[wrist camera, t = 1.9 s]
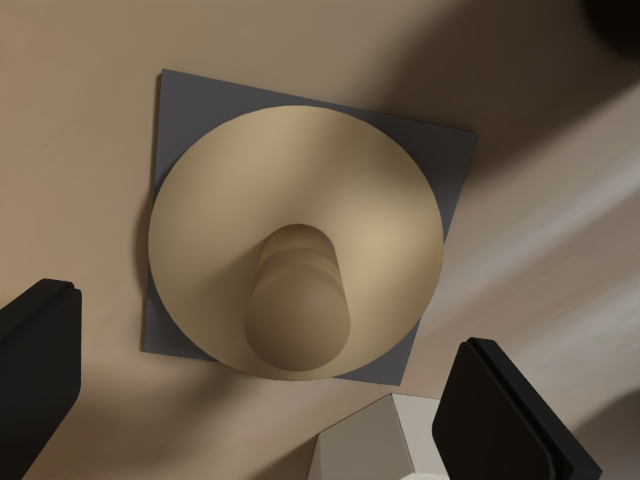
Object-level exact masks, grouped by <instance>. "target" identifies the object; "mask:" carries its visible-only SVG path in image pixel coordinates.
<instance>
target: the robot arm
mask: <svg viewBox="0 0 640 480" xmlns="http://www.w3.org/2000/svg"><path fill="white" fill-rule="evenodd" d="M81 321H82V294H81V291H80V290H79V289H75V287H74V284H73V283H72V282H68V281H60V280H53V279H45V278H44V279H42V280H40V281H38V282H37V283H36V284H34V285H33V286H32V287H30V288H29V289H28V290H26V291H25V292H24V293H22V294H21V295H20V296H18V297H17V298H16V299H14V300H13V301H12V302H10V303H9V304H8V305H6V306H5V307H4V308H2V309H1V310H0V480H21V479H22V478H23V476H24V475H25V474H26V472H27V471H28V469H29V468H30V466H31V465H32V464H33V462H34V461H35V459H36V458H37V456H38V455H39V453H40V452H41V451H42V449H43V448H44V446H45V445H46V443H47V442H48V441H49V439H50V438H51V436H52V435H53V433H54V432H55V430H56V429H57V428H58V426H59V425H60V423H61V422H62V420H63V419H64V418H65V416H66V415H67V413H68V412H69V410H70V409H71V407H72V406H73V405H74V403H75V401H76V400H77V398H78V395H79V392H80V388H81ZM432 437H433V440H434V443H435V445H436V447H437V450H438V452H439V455H440V457H441V459H442V462H443V464H444V467H445V469H446V471H447V474H448V476H449V479H450V480H598V479H599V478H600V476H601V474H602V472H603V471H602V470H601V468H600V467H599V466H598V465H597V464H596V462H595V461H594V460H593V459H592V458H591V456H590V455H589V454H588V453H587V452H586V450H585V449H584V448H583V447H582V446H581V444H580V443H579V442H578V441H577V440H576V438H575V437H574V436H573V435H572V434H571V432H570V431H569V430H568V429H567V428H566V426H565V425H564V424H563V423H562V421H561V420H560V419H559V418H558V417H557V415H556V414H555V413H554V412H553V411H552V409H551V408H550V407H549V406H548V405H547V403H546V402H545V401H544V400H543V399H542V397H541V396H540V395H539V394H538V393H537V391H536V390H535V389H534V388H533V387H532V385H531V384H530V383H529V382H528V381H527V379H526V378H525V377H524V376H523V374H522V373H521V372H520V371H519V370H518V368H517V367H516V366H515V365H514V364H513V362H512V361H511V360H510V359H509V358H508V356H507V355H506V354H505V353H504V352H503V350H502V349H501V348H500V347H499V346H498V344H497V343H496V342H495V341H494V340H489V339H481V338H474V337H471V338H469V339H468V340H467V341H466V342H462V343H461V344H460V346H459V349H458V352H457V355H456V357H455V360H454V363H453V366H452V369H451V372H450V374H449V377H448V380H447V383H446V386H445V389H444V391H443V394H442V397H441V400H440V403H439V406H438V408H437V411H436V414H435V417H434V420H433V423H432Z"/></svg>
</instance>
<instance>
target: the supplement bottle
mask: <svg viewBox="0 0 640 480" xmlns="http://www.w3.org/2000/svg"><path fill="white" fill-rule="evenodd" d="M583 5H584V8H585V12H586V15H587V18H588V20H589V22H590V24H591V26H592V28H593V30H594V31H595V33H596V34H597V36H598V37H599V38H600V39H601V40H602V41H603V43H604V44H605V45H607V46H608V47H609V48H610V49H611V50H613V51H614V52H616V53H617V54H619V55H621V56H623V57H626V58H628V59H631V60H634V61H639V62H640V0H583Z"/></svg>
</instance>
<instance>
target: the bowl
mask: <svg viewBox="0 0 640 480" xmlns="http://www.w3.org/2000/svg"><path fill="white" fill-rule="evenodd" d="M439 403H440V400H437V399H429V398H422V397H414V396H406V395H399V394H392V395H390V394H389V395H387V396H385V397H384V398H382V399H380V400H378V401H376V402H375V403H373V404H371V405H369V406H368V407H366V408H364V409H362V410H360V411H359V412H357V413H355V414H353V415H352V416H350V417H348V418H346V419H344V420H343V421H341V422H339V423H337V424H336V425H334V426H332V427H330V428H328V429H327V430H325V431H323V432H321V433H320V435H318V439H317V443H316V447H315V451H314V455H313V459H312V463H311V467H310V471H309V475H308V479H307V480H450V479H449V476H448V474H447V471H446V469H445V467H444V464H443V462H442V459H441V457H440V455H439V452H438V450H437V447H436V445H435V443H434V440H433V437H432V423H433V420H434V417H435V414H436V411H437V408H438V406H439Z"/></svg>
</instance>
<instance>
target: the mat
mask: <svg viewBox="0 0 640 480" xmlns="http://www.w3.org/2000/svg"><path fill="white" fill-rule="evenodd" d="M293 105H306V106H313V107H321V108H327V109H331V110H334V111H338V112H341V113H345V114H348V115H350V116H352V117H354V118H357V119H359V120H361V121H364V122H366V123H368V124H370V125H371V126H373V127H375V128H376V129H378V130H380V131H381V132H383V133H384V134H386V135H387V136H388V137H390V138H391V139H392V140H393V141H394V142H396V143H397V144H398V145H399V146H401V147H402V148H403V150H404V151H405V152H406V153H407V154H408V155H409V156H410V157H411V158H412V159H413V160H414V162H415V163H416V164H417V166H418V167H419V169H420V170H421V172H422V173H423V175H424V176H425V178H426V179H427V182H428V184H429V186H430V188H431V190H432V192H433V194H434V196H435V199H436V202H437V205H438V208H439V211H440V216H441V222H442V228H443V246H444V243H445V240H446V236H447V233H448V230H449V227H450V224H451V220H452V217H453V214H454V211H455V208H456V204H457V201H458V198H459V195H460V192H461V188H462V185H463V182H464V179H465V176H466V172H467V169H468V166H469V163H470V160H471V156H472V153H473V150H474V147H475V144H476V140H477V137H478V134H477V133H472V132H467V131H462V130H457V129H453V128H448V127H443V126H438V125H433V124H428V123H424V122H419V121H414V120H409V119H404V118H399V117H395V116H390V115H385V114H380V113H375V112H370V111H365V110H361V109H356V108H351V107H346V106H341V105H336V104H332V103H327V102H322V101H317V100H312V99H307V98H303V97H298V96H293V95H288V94H283V93H278V92H273V91H269V90H264V89H259V88H254V87H249V86H244V85H240V84H235V83H230V82H225V81H220V80H215V79H211V78H206V77H201V76H196V75H191V74H186V73H182V72H177V71H172V70H167V69H162V77H161V92H160V107H159V123H158V138H157V153H156V168H155V184H154V199H153V208H154V204H155V201H156V198H157V196H158V193H159V191H160V189H161V187H162V185H163V183H164V180H165V179H166V177H167V176H168V174H169V173H170V171H171V170H172V168H173V167H174V165H175V164H176V162H177V161H178V160H179V159H180V158H181V157H182V156H183V155H184V153H185V152H186V151H187V150H188V149H189V148H190V147H191V146H192V145H194V144H195V143H196V142H197V141H198V140H199V139H201V138H202V137H203V136H204V135H206V134H207V133H209V132H210V131H212V130H214V129H215V128H217V127H218V126H220V125H222V124H224V123H226V122H228V121H230V120H233V119H235V118H237V117H239V116H242V115H244V114H247V113H251V112H254V111H258V110H261V109H265V108H271V107H278V106H293ZM420 320H421V317H420V319H419V320H418V321H417V323H416V324H415V326H414V327H413V328H412V329H411V330H410V331H409V332H408V334H407V335H406V336H405V337H404V338H403V339H402V340H401V341H400V342H398V343H397V344H396V345H395V346H394V347H393V348H391V349H390V350H389V351H388V352H386V353H385V354H383V355H382V356H380V357H379V358H377V359H376V360H374V361H372V362H370V363H368V364H366V365H364V366H362V367H360V368H358V369H355V370H353V371H350V372H347V373H345V374H341V375H338V376H334V377H336V378H343V379H350V380H358V381H365V382H373V383H380V384H388V385H395V386H400V383H401V380H402V377H403V374H404V371H405V367H406V364H407V361H408V358H409V355H410V351H411V348H412V345H413V342H414V339H415V335H416V332H417V329H418V326H419V323H420ZM144 352H149V353H156V354H164V355H171V356H179V357H186V358H194V359H201V360H209V361H216V362H220V361H218V360H217V359H215V358H213V357H211V356H210V355H209V354H207V353H206V352H205V351H203V350H202V349H201V348H199V347H198V346H197V345H196V344H195V343H193V342H192V341H191V340H190V339H189V338H188V337H187V336H186V335H185V334H184V333H183V332H182V330H181V329H180V328H179V327H178V326H177V324H176V323H175V322H174V321H173V319H172V318H171V316H170V314H169V313H168V311H167V310H166V308H165V306H164V305H163V302H162V300H161V298H160V296H159V294H158V291H157V289H156V286H155V283H154V279H153V276H152V273H151V267H150V260H149V276H148V291H147V306H146V322H145V337H144Z"/></svg>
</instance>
